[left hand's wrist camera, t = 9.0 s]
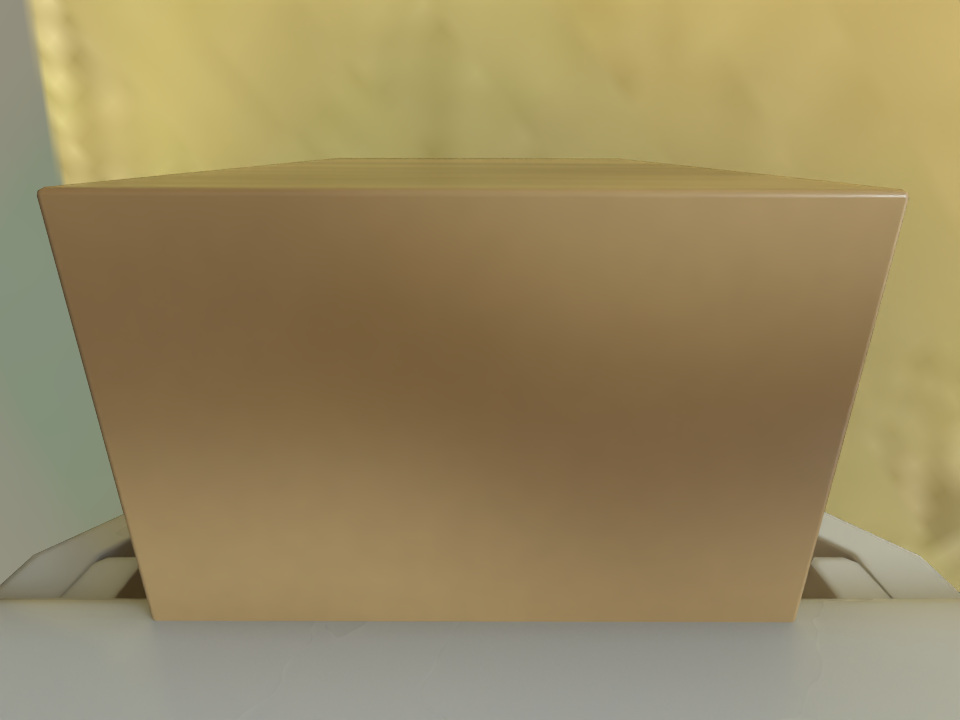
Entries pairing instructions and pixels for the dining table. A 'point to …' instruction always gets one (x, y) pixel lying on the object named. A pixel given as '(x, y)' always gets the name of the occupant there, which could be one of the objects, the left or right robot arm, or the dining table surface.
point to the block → (473, 383)
